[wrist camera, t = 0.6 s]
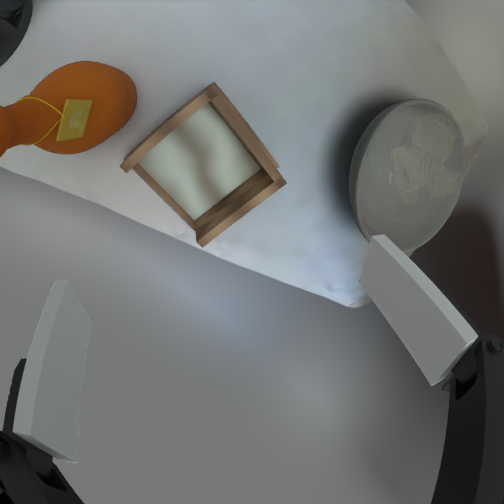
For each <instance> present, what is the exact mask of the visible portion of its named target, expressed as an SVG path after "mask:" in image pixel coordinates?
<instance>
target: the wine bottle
mask: <svg viewBox="0 0 504 504" xmlns="http://www.w3.org/2000/svg"><path fill="white" fill-rule="evenodd" d="M136 100H137V94H136V88H135V85H134V83H133V81H132V80H131V79H130V77H129V76H128V75H127V74H125V73H124V72H122V71H121V70H119V69H117V68H114V67H112V66H109V65H106V64H102V63H98V62H92V61H80V62H74V63H71V64H67V65H65V66H63V67H60V68H59V69H57V70H55V71H54V72H52V73H50V74H49V75H48V76H47V77H45V78H44V79H43V80H42V81H41V82H40V83H39V84H38V85H37V86H36V87H35V88H34V90H33V91H32V92H31V93H30V94H29V95H28V96H25V97H23V98H22V99H20V100H18V101H17V102H15V103H14V104H12V105H9V106H6V107H2V106H0V157H1V156H2V155H3V154H4V153H5V151H6V149H9V148H11V147H14V146H16V145H20V144H23V145H33V144H34V145H36V146H38V147H39V148H41V149H43V150H46V151H48V152H52V153H57V154H76V153H81V152H84V151H87V150H89V149H91V148H93V147H95V146H97V145H99V144H100V143H102V142H103V141H105V140H106V139H108V138H109V137H110V136H112V135H113V134H114V133H116V132H117V131H118V130H120V129H121V128H122V127H123V126H124V125H125V124H126V123H127V122H128V120H129V119H130V117H131V116H132V114H133V112H134V109H135V106H136Z"/></svg>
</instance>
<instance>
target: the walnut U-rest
mask: <svg viewBox="0 0 504 504" xmlns="http://www.w3.org/2000/svg"><path fill="white" fill-rule="evenodd" d="M120 167H121V168H122V169H123V170H124V171H125V172H126V173H127V172H128V171H129V170H130V169H131V168H133V169H134V170H135V171H136V173H137V174H138V175H139V176H140V177H141V178H142V179H143V180H144V181H145V182H146V183H147V184H148V185H149V186H150V187H151V188H152V189H153V190H154V191H155V192H156V193H157V194H158V195H159V196H160V197H161V198H162V199H163V200H164V201H165V202H166V203H167V204H168V205H169V206H170V207H171V208H172V209H173V210H174V211H175V212H176V213H177V214H178V215H179V216H180V217H181V218H182V219H183V220H184V221H185V222H186V223H187V224H188V225H189V226H190V227H191V228H192V229H193V230H194V231H196V241H197V243H198V244H199V245H200V246H201V247H202V248H203V247H204V246H205V245H206V244H208V243H209V242H210V241H211V240H213V239H214V238H215V237H217V236H218V235H219V234H220V233H222V232H223V231H224V230H226V229H227V228H228V227H230V226H231V225H232V224H233V223H235V222H236V221H237V220H239V219H240V218H241V217H243V216H244V215H245V214H247V213H248V212H249V211H250V210H252V209H253V208H254V207H256V206H257V205H258V204H260V203H261V202H262V201H264V200H265V199H266V198H268V197H269V196H270V195H272V194H273V193H275V192H276V191H277V190H279V189H280V188H281V187H283V186H284V185H285V184H287V183H286V181H285V180H284V178H283V177H282V176H281V174H280V173H279V171H278V170H277V168H278V167H279V166H278V164H277V163H276V161H275V160H274V159H273V157H272V156H271V154H270V153H269V152H268V150H267V149H266V147H265V146H264V145H263V143H262V142H261V141H260V139H259V138H258V137H257V135H256V134H255V133H254V131H253V130H252V129H251V127H250V126H249V125H248V123H247V122H246V121H245V120H244V118H243V117H242V116H241V114H240V113H239V112H238V111H237V109H236V108H235V107H234V105H233V104H232V103H231V102H230V100H229V99H228V98H227V97H226V95H225V94H224V93H223V92H222V91H221V89H220V88H219V87H218V86H217V84H216V83H215V82H214V83H212V84H211V85H210V86H208V87H207V88H205V89H204V90H203V91H201V92H200V93H199V94H197V95H196V96H195V97H194V98H192V99H191V100H190V101H188V102H187V103H186V104H185V105H183V106H182V107H181V108H180V109H178V110H177V111H176V112H175V113H174V114H172V115H171V116H170V117H169V118H168V119H166V120H165V121H164V122H163V123H162V124H161V125H159V126H158V127H157V128H156V129H155V130H154V131H153V132H152V133H150V134H149V135H148V136H147V137H146V138H145V139H144V140H143V141H142V142H141V143H140V144H139V145H138V146H136V147H135V148H134V149H133V150H132V151H131V152H130V153H129V154H128V155H127V156H126V157H125V158H124V162H123V163H122V164H121V166H120Z"/></svg>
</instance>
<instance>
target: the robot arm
mask: <svg viewBox="0 0 504 504" xmlns="http://www.w3.org/2000/svg"><path fill="white" fill-rule="evenodd" d="M31 14H32V0H0V66H1V65H2V64H3V63H4V62H5V61H6V60H7V59H8V58H9V57H10V56H11V55H12V53H13V52H14V51H15V49H16V48H17V46H18V45H19V43H20V42H21V40H22V38H23V36H24V34H25V32H26V30H27V27H28V25H29V22H30V18H31ZM359 283H360V284H361V285H362V287H363V288H364V289H365V291H366V292H367V293H368V295H369V296H370V297H371V299H372V300H373V301H374V303H375V304H376V305H377V307H378V308H379V309H380V311H381V312H382V314H383V315H384V316H385V318H386V319H387V321H388V322H389V323H390V325H391V326H392V328H393V329H394V330H395V332H396V333H397V335H398V336H399V337H400V339H401V340H402V342H403V343H404V345H405V346H406V348H407V349H408V351H409V352H410V354H411V355H412V357H413V358H414V360H415V361H416V363H417V364H418V366H419V367H420V368H421V370H422V372H423V373H424V375H425V377H426V378H427V380H428V381H429V383H430V384H431V386H433V385H434V384H436V383H438V382H439V381H441V380H442V379H444V378H445V377H446V376H447V374H448V373H449V372H450V371H452V372H453V375H452V376H451V377H450V378H449V379H448V380H447V381H446V383H445V384H444V385H443V386H442V390H445V388H447V386H448V385H449V384H450V386H449V387H448V389H447V391H448V392H450V398H449V411H448V421H447V429H446V437H445V443H444V450H443V455H442V461H441V465H440V470H439V475H438V479H437V483H436V487H435V491H434V494H433V498H432V501H431V504H504V339H499V338H498V337H497V336H495V335H493V334H486V335H484V334H482V332H481V331H480V330H479V329H478V327H477V326H476V325H475V324H474V323H473V321H472V320H471V319H470V318H469V317H468V315H467V314H466V313H465V312H464V311H463V310H461V307H460V306H459V305H458V304H457V303H455V302H456V301H455V300H454V299H453V298H452V297H451V296H450V295H449V294H448V293H447V292H445V291H444V290H442V289H441V288H439V287H436V286H435V285H434V284H433V282H432V281H431V280H430V279H429V278H428V277H427V276H426V275H425V274H424V273H423V272H422V271H421V270H420V269H419V268H418V267H417V266H416V265H415V264H414V263H413V262H412V261H411V260H410V259H409V258H408V257H407V256H406V255H405V254H404V253H403V252H402V251H401V250H400V249H399V248H398V247H397V246H396V245H395V244H394V243H393V242H392V241H391V240H390V239H389V238H388V237H387V236H386V235H385V234H382V235H375V236H372V237H371V241H370V245H369V249H368V252H367V256H366V260H365V263H364V267H363V270H362V274H361V277H360V281H359ZM91 328H92V324H91V322H90V320H89V318H88V316H87V314H86V313H85V311H84V309H83V307H82V305H81V303H80V301H79V299H78V297H77V295H76V293H75V291H74V289H73V287H72V284H71V282H70V280H69V279H64V280H57V281H54V283H53V285H52V288H51V290H50V292H49V295H48V297H47V300H46V303H45V305H44V308H43V311H42V313H41V316H40V319H39V322H38V325H37V328H36V331H35V334H34V337H33V340H32V343H31V347H30V350H29V353H28V357H27V359H21V360H20V362H19V364H18V365H17V367H16V369H15V371H14V375H13V379H12V385H11V388H10V394H9V397H8V402H7V407H6V413H5V419H4V425H3V431H0V504H84V503H83V501H82V500H81V499H80V498H79V497H78V495H77V494H76V493H75V491H74V490H73V489H72V487H71V486H70V485H69V483H68V482H67V481H66V479H65V478H64V476H63V475H62V473H61V472H60V471H59V469H58V467H57V466H56V465H55V464H54V463H53V462H52V459H53V457H54V458H56V459H58V460H60V461H63V462H69V463H77V464H79V425H80V409H81V397H82V386H83V378H84V370H85V362H86V356H87V350H88V344H89V338H90V333H91Z"/></svg>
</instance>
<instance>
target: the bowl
mask: <svg viewBox="0 0 504 504" xmlns="http://www.w3.org/2000/svg"><path fill="white" fill-rule="evenodd" d="M465 166H466V158H465V147H464V141H463V136H462V132H461V129H460V126H459V125H458V123H457V121H456V120H455V118H454V117H453V115H452V114H451V113H450V111H448V110H447V109H446V108H445V107H443V106H442V105H440V104H438V103H436V102H434V101H431V100H426V99H411V100H405V101H402V102H398V103H395V104H393V105H391V106H389V107H387V108H386V109H384V110H383V111H381V112H380V113H379V114H378V115H377V116H376V117H375V118H374V119H373V120H372V121H371V122H370V124H369V125H368V126H367V128H366V129H365V131H364V132H363V134H362V136H361V138H360V139H359V141H358V143H357V145H356V147H355V150H354V153H353V156H352V160H351V165H350V172H349V195H350V201H351V207H352V211H353V214H354V217H355V220H356V223H357V225H358V227H359V229H360V231H361V233H362V234H363V236H364V237H365V238H366V240H367V241H368V242H369V243H370V241H371V237H372V236H375V235H382V234H385V235H386V236H387V237H388V238H389V239H390V240H391V241H392V242H393V243H394V244H395V245H396V246H397V247H398V248H399V249H400V250H401V251H402V252H403V253H407V252H410V251H412V250H414V249H417V248H418V247H420V246H422V245H423V244H425V243H426V242H427V241H429V240H430V239H431V238H432V237H433V236H434V235H435V234H436V233H437V232H438V231H439V230H440V228H441V227H442V226H443V225H444V223H445V222H446V220H447V219H448V217H449V216H450V214H451V212H452V211H453V209H454V207H455V204H456V203H457V200H458V198H459V194H460V191H461V187H462V184H463V179H464V174H465Z"/></svg>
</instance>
